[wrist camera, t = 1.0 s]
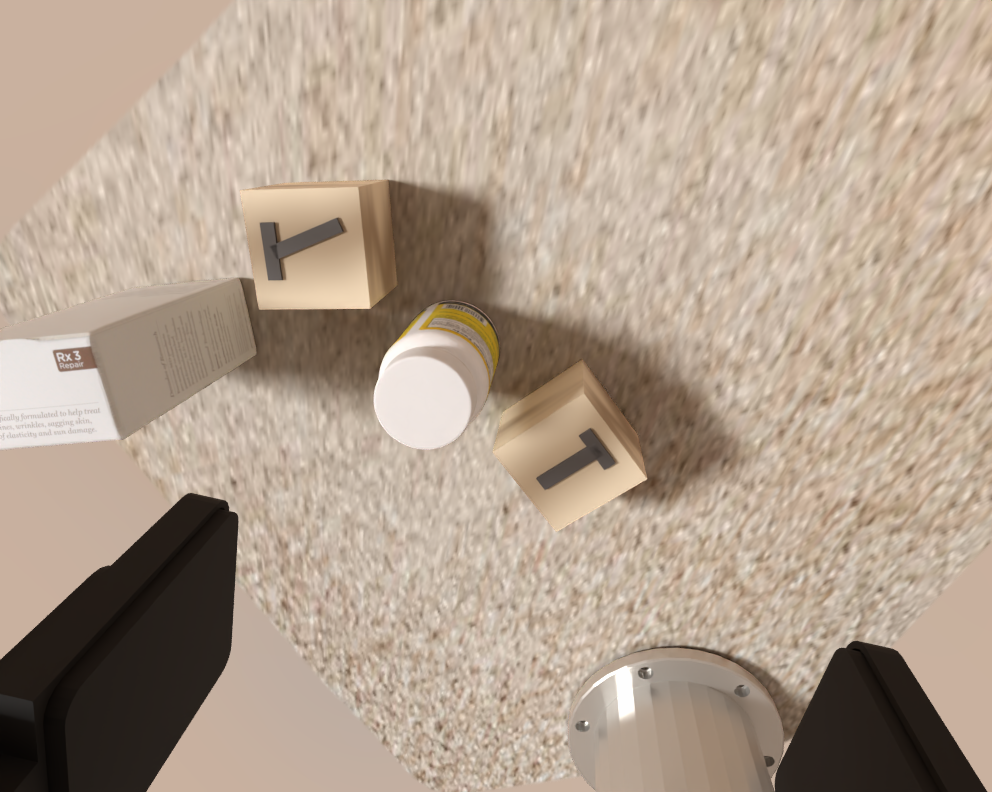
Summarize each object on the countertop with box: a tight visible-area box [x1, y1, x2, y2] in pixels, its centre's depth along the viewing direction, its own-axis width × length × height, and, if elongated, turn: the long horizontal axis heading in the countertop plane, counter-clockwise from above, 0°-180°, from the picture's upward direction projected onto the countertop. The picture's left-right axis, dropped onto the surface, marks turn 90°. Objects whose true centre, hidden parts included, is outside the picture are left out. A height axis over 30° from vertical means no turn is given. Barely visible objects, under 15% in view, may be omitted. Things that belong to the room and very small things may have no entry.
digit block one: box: [493, 359, 647, 532], centre depth 33 cm, size 5×5×5 cm
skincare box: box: [0, 278, 257, 450], centre depth 30 cm, size 6×4×12 cm
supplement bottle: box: [374, 300, 500, 450], centre depth 31 cm, size 5×5×8 cm
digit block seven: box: [240, 180, 397, 310], centre depth 31 cm, size 5×5×5 cm
